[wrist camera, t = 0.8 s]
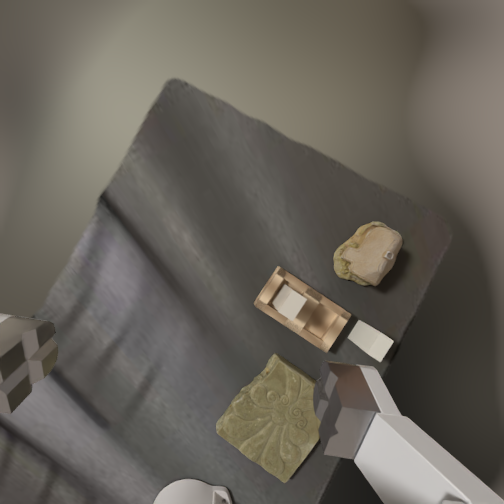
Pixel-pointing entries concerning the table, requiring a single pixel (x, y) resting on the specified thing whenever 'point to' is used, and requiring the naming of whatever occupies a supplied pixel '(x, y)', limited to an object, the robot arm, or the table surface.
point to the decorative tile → (274, 418)
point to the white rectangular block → (370, 340)
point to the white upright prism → (288, 302)
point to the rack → (305, 311)
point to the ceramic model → (368, 254)
